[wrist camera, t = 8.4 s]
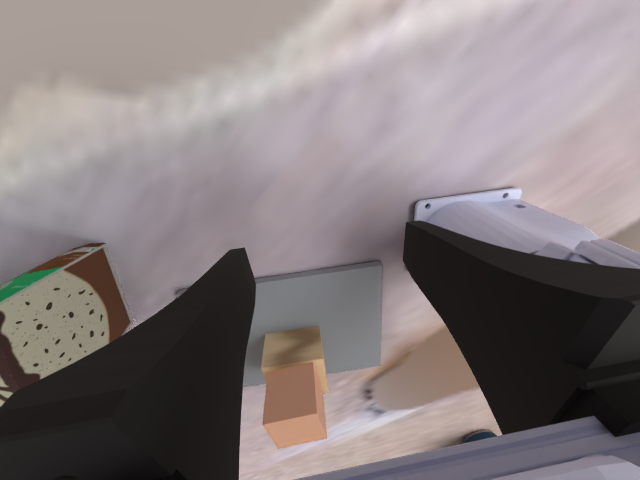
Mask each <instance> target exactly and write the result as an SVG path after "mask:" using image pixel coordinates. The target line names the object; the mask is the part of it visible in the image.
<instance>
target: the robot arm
mask: <svg viewBox="0 0 640 480" xmlns="http://www.w3.org/2000/svg"><path fill="white" fill-rule="evenodd" d="M504 193H505V195H504V196H503V194H504ZM521 193H522V190H521V189H520V188H517V187H514V188H507V189H500V190H492V191H485V192H478V193H470V194H463V195H456V196H449V197H441V198H434V199H427V200H420V201H418V202H417V203H416V205H415V214H414V221H412V222H406V229H405V241H404V253H403V261H404V263H405V265H406V267H407V269H408V271H409V273H410V275H411V277H412V278H413V280H414V281H415V282H416V284H417V285H418V287H419V288H420V289H421V291H422V292H423V294H424V295H425V296H426V298H427V299H428V300H429V302H430V303H431V304H432V306H433V307H434V309H435V310H436V311H437V313H438V314H439V315H440V317H441V318H442V320H443V321H444V323H445V324H446V326H447V327H448V329H449V331H450V333H451V334H452V336H453V338H454V339H455V341H456V343H457V344H458V346H459V348H460V350H461V352H462V354H463V355H464V357H465V359H466V361H467V363H468V365H469V367H470V368H471V370H472V372H473V374H474V376H475V378H476V380H477V382H478V384H479V386H480V388H481V390H482V392H483V394H484V396H485V398H486V400H487V402H488V404H489V406H490V408H491V411H492V413H493V415H494V417H495V419H496V421H497V423H498V426H499V428H500V430H501V432H502V434H503V435H501V436H496V437H492V438H487V439H482V440H477V441H473V442H468V443H463V444H459V445H454V446H449V447H445V448H440V449H435V450H430V451H426V452H421V453H416V454H412V455H407V456H402V457H398V458H393V459H388V460H384V461H379V462H374V463H369V464H365V465H360V466H355V467H351V468H346V469H341V470H337V471H332V472H327V473H323V474H318V475H313V476H308V477H304V478H299V479H294V480H640V253H638V252H636V251H634V250H631V249H629V248H626V247H624V246H622V245H619V244H617V243H614V242H612V241H609V240H607V239H600V238H599V237H598V236H597V235H596V234H595V233H593V232H592V231H591V230H589V229H588V228H586V227H584V226H583V225H580V224H578V223H576V222H573V221H571V220H568V219H566V218H563V217H561V216H558V215H556V214H554V213H551V212H549V211H546V210H544V209H541V208H539V207H536V206H534V205H532V204H529V203H527V202H524V201H522V200H520V196H521ZM428 203H429V205H428V207H425V206H426V204H428ZM255 298H256V282H255V279H254V276H253V273H252V270H251V266H250V263H249V260H248V257H247V254H246V250H245V248H239V249H232V250H230V251H228V252H227V253H226V254H225V255H224V256H223V257H222V258H221V259H220V260H219V261H218V262H217V263H216V264H215V265H213V266H212V267H211V268H210V269H209V270H208V271H207V272H206V273H205V274H204V275H203V276H202V277H201V278H200V279H199V280H197V281H196V282H195V283H194V284H193V285H192V286H191V287H189V288H188V289H187V290H186V291H185V292H184V293H183V294H181V295H180V296H179V297H178V298H176V299H175V300H174V301H172V302H171V303H170V304H169V305H167V306H166V307H164V308H163V309H162V310H160V311H159V312H158V313H156V314H155V315H153V316H152V317H150V318H149V319H147V320H146V321H144V322H143V323H141V324H139V325H138V326H136V327H135V328H133V329H132V330H130V331H129V332H127V333H126V334H124V335H122V336H121V337H119V338H117V339H116V340H114V341H112V342H110V343H109V344H107V345H105V346H103V347H102V348H100V349H98V350H96V351H94V352H93V353H91V354H89V355H87V356H85V357H84V358H82V359H80V360H78V361H76V362H74V363H72V364H70V365H68V366H66V367H64V368H62V369H60V370H58V371H56V372H54V373H52V374H50V375H48V376H46V377H44V378H42V379H40V380H38V381H36V382H34V383H32V384H30V385H28V386H26V387H24V388H22V389H19V390H17V391H15V392H14V393H13V394H12V395H11V396H10V397H9V398H8V399H7V400H6V401H5V402H4V403H3V405H2V406H1V407H0V480H239V446H240V423H241V405H242V390H243V377H244V365H245V357H246V350H247V345H248V340H249V335H250V330H251V324H252V319H253V314H254V308H255Z"/></svg>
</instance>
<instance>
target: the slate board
mask: <svg viewBox="0 0 640 480" xmlns="http://www.w3.org/2000/svg"><path fill="white" fill-rule="evenodd" d="M382 272H383V265H382V263H381V261H375V262H368V263H361V264H354V265H347V266H340V267H333V268H326V269H319V270H312V271H305V272H298V273H291V274H284V275H277V276H270V277H263V278H256V279H255V282H256V298H255V308H254V314H253V319H252V324H251V330H250V335H249V340H248V345H247V350H246V357H245V365H244V377H243V387H247V386H253V385H260V384H266V380H265V378H264V375H263V372H262V370H261V364H262V356H263V348H264V341H265V334H268V333H274V332H281V331H288V330H294V329H301V328H308V327H314V326H319V327H320V333H321V339H322V346H323V352H324V359H325V367H326V374H330V373H337V372H343V371H349V370H356V369H362V368H369V367H375V366H380V355H381V314H382ZM187 289H188V288H187ZM187 289H180V290H179V291H178V293H177V294H176V296H177V298H178V297H179V296H180V295H181V294H183V293H184V292H185V291H186V290H187Z"/></svg>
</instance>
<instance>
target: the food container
mask: <svg viewBox="0 0 640 480" xmlns="http://www.w3.org/2000/svg"><path fill="white" fill-rule="evenodd" d="M133 322H134V321H133V318H132V315H131V312H130V310H129V307H128V304H127V301H126V299H125V296H124V293H123V290H122V287H121V285H120V282H119V279H118V276H117V274H116V271H115V268H114V265H113V263H112V260H111V257H110V254H109V252H108V249H107V246H106V243H94V244H88V245H84V246H81V247H77V248H74V249H72V250H70V251H68V252H66V253H64V254H62V255H60V256H58V257H56V258H54V259H52V260H50V261H48V262H46V263H44V264H42V265H40V266H38V267H36V268H34V269H32V270H30V271H28V272H26V273H24V274H22V275H20V276H18V277H16V278H14V279H12V280H10V281H8V282H6V283H4V284H2V285H1V286H0V407H1V406H2V405H3V403H4V402H5V401H6V400H7V399H8V398H9V397H10V396H11V395H12V394H13V393H14V392H15V391H17V390H19V389H22V388H24V387H26V386H28V385H30V384H32V383H34V382H36V381H38V380H40V379H42V378H44V377H46V376H48V375H50V374H52V373H54V372H56V371H58V370H60V369H62V368H64V367H66V366H68V365H70V364H72V363H74V362H76V361H78V360H80V359H82V358H84V357H85V356H87V355H89V354H91V353H93V352H94V351H96V350H98V349H100V348H102V347H103V346H105V345H107V344H109V343H110V342H112V341H114V340H116V339H117V338H119V337H121V336H122V335H124V334H126V332H127V331H128V329H129V328H130V326H131V325H132V323H133Z"/></svg>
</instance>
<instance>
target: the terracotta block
mask: <svg viewBox="0 0 640 480" xmlns="http://www.w3.org/2000/svg"><path fill="white" fill-rule="evenodd" d="M263 426H264V428H265V429H266V431H267V432H268V434H269V435H270V437H271V438H272V440H273V441H274V443H275V444H276V446H277V447H278V449H279V448H283V447H288V446H293V445H298V444H303V443H307V442H312V441H317V440H322V439H326V438H327V431H326V421H325V411H324V401H323V391H322V385H321V383H320V380H319V377H318V374H317V371H316V368H315V366H314V363H313V362H309V363H305V364H300V365H295V366H291V367H286V368H281V369H277V370H272V371H268V375H267V385H266V395H265V405H264V415H263Z"/></svg>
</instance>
